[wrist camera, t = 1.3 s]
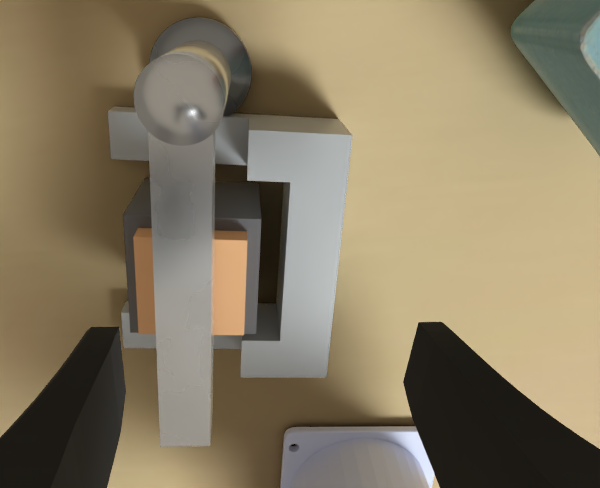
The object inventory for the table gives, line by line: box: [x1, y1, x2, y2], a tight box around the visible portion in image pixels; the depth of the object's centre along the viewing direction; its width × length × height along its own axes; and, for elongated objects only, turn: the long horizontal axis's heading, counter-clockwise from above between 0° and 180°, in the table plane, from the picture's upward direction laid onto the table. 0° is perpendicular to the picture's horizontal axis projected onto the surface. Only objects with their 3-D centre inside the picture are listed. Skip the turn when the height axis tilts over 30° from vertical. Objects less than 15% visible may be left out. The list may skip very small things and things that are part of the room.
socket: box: [108, 107, 352, 378], centre depth 21 cm, size 10×8×3 cm
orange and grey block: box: [123, 178, 261, 335], centre depth 21 cm, size 4×4×5 cm
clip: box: [134, 40, 231, 447], centre depth 18 cm, size 12×2×6 cm, turn 176°
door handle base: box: [150, 17, 252, 116], centre depth 20 cm, size 4×4×1 cm
